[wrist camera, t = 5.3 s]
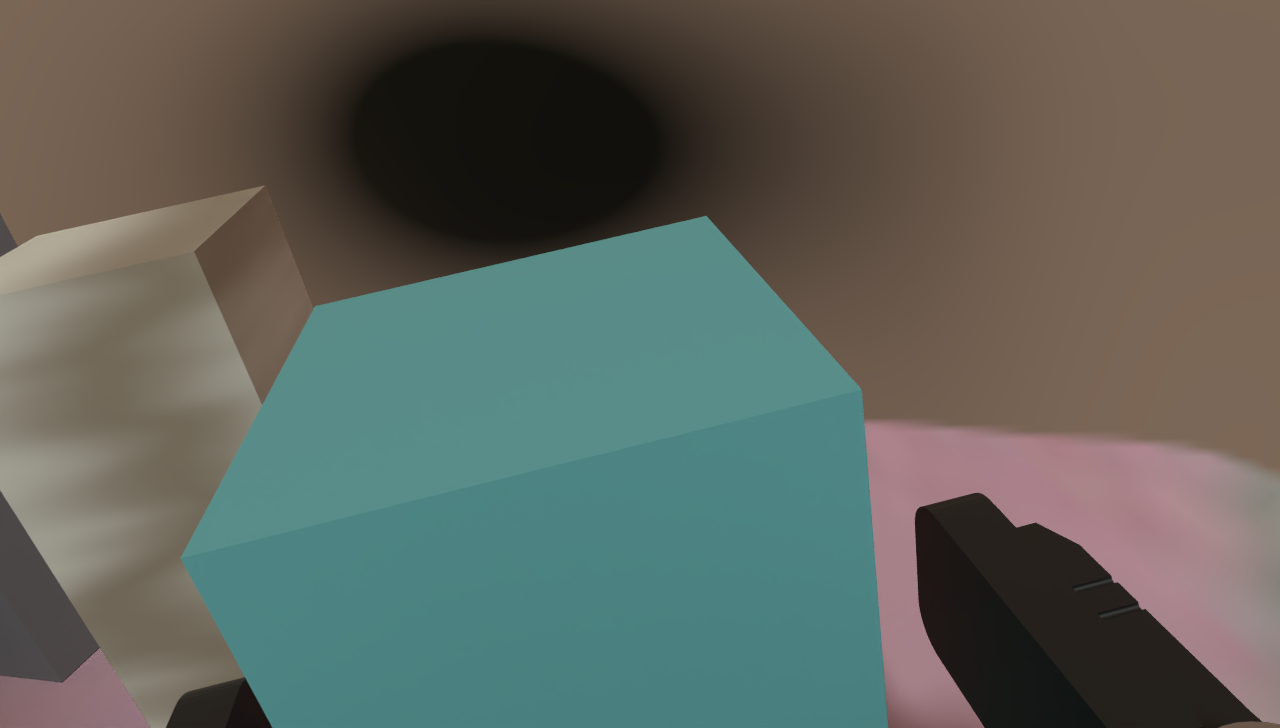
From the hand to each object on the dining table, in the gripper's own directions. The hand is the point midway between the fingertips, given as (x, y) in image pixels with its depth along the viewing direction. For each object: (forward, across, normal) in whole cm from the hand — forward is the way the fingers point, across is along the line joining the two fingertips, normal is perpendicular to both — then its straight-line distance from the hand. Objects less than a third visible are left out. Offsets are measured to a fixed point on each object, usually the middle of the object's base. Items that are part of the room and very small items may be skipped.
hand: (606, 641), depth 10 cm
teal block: (-1, 0, +6) cm, 7 cm away
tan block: (+8, +7, +6) cm, 12 cm away
